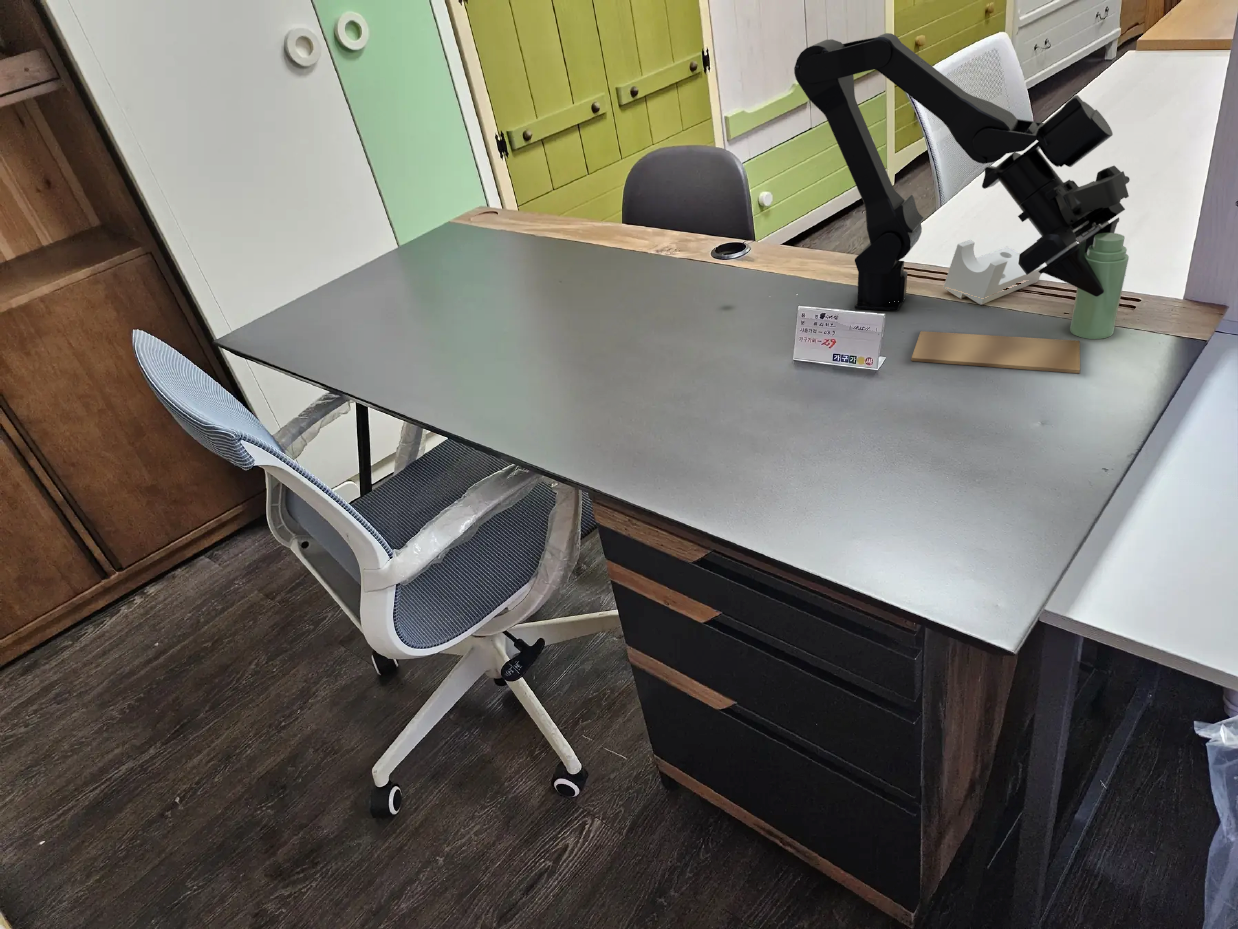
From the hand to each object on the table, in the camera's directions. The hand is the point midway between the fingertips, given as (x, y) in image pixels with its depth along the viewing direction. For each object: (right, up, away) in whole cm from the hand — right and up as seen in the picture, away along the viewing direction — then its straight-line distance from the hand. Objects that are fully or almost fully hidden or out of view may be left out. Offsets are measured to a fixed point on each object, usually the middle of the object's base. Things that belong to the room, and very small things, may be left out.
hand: (1111, 286), depth 110 cm
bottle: (0, -5, +4) cm, 7 cm away
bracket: (-6, +4, +21) cm, 22 cm away
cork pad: (-14, -8, +2) cm, 17 cm away
